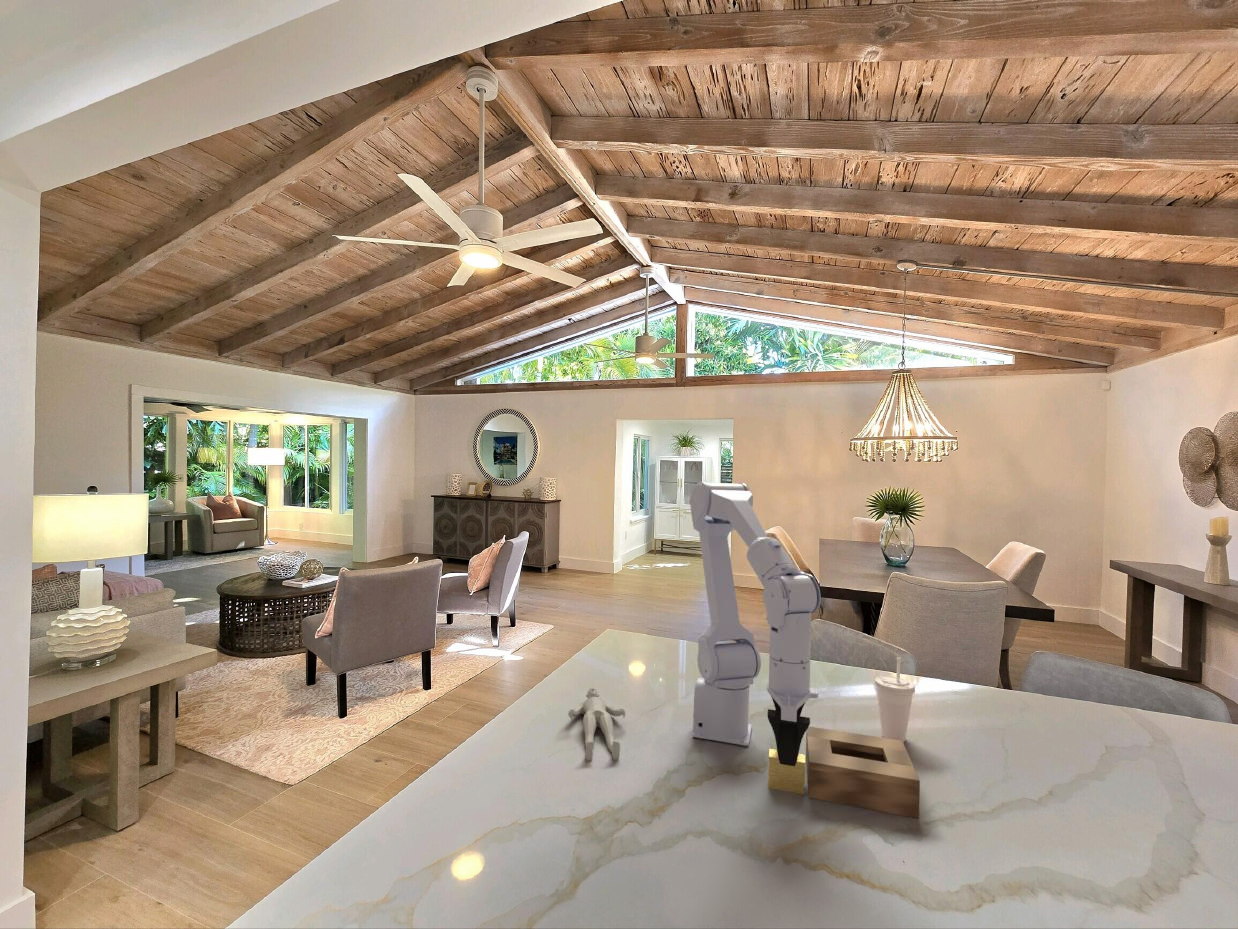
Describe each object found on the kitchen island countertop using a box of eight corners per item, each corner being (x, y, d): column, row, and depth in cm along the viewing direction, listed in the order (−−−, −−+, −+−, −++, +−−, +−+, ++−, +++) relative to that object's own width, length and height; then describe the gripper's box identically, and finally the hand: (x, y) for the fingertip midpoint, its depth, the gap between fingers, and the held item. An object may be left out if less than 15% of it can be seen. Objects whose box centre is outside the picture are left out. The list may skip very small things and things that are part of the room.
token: (768, 787, 81) (769, 756, 81) (768, 779, 83) (769, 748, 83) (804, 794, 79) (805, 762, 80) (803, 785, 82) (804, 754, 82)
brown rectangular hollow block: (808, 797, 79) (809, 761, 79) (805, 757, 90) (806, 726, 90) (918, 818, 75) (919, 780, 75) (901, 773, 86) (902, 740, 86)
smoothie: (919, 748, 94) (921, 665, 95) (878, 743, 96) (880, 661, 96) (907, 731, 101) (909, 653, 101) (869, 727, 102) (871, 650, 102)
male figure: (571, 737, 87) (566, 684, 108) (570, 762, 87) (565, 704, 108) (635, 736, 88) (617, 683, 110) (634, 760, 88) (617, 703, 110)
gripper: (821, 677, 74) (819, 782, 73) (816, 646, 88) (814, 734, 87) (766, 670, 76) (763, 772, 75) (769, 641, 90) (767, 727, 89)
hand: (787, 751), depth 81 cm, fingers open, 7 cm apart
